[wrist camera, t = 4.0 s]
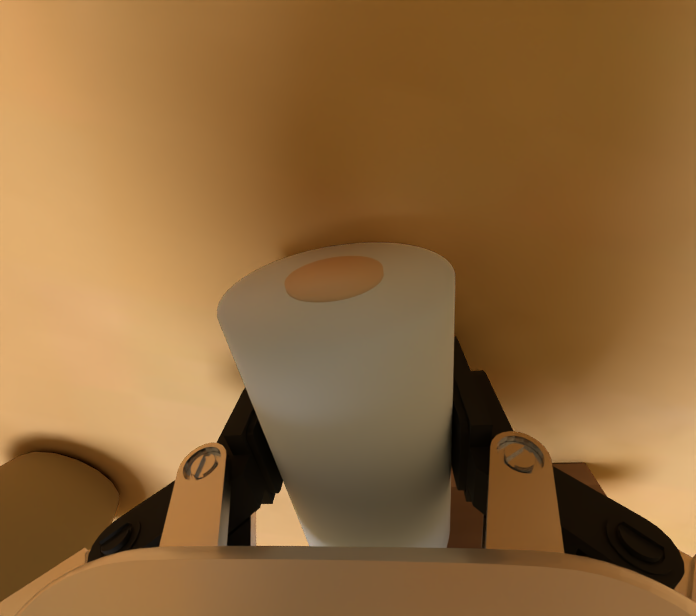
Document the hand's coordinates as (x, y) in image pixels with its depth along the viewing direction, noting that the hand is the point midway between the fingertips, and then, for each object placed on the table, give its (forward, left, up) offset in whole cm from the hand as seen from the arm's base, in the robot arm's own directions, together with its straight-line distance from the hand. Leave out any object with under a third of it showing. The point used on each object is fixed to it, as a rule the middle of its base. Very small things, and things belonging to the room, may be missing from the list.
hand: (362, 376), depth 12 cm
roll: (0, 0, +2) cm, 2 cm away
